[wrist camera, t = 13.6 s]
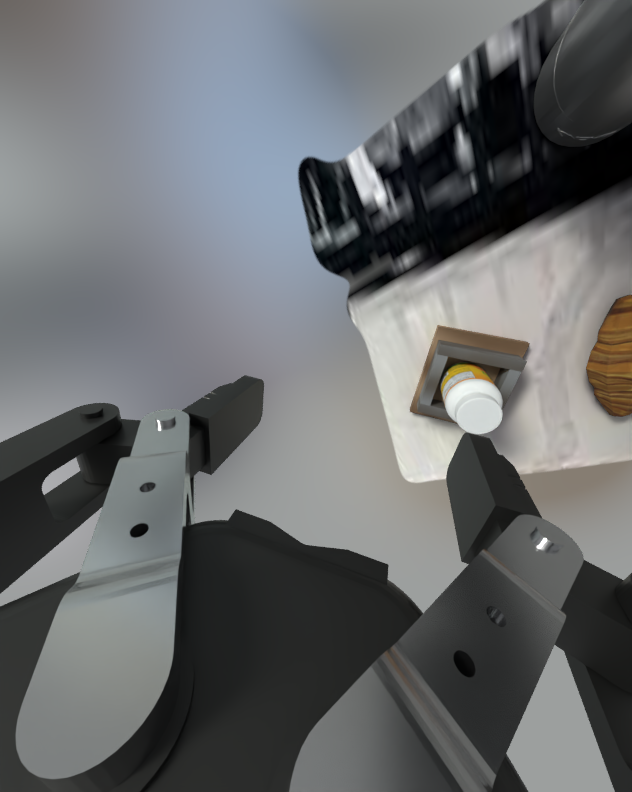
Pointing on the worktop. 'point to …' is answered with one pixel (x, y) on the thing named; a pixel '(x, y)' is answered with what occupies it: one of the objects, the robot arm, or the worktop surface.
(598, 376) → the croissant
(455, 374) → the supplement bottle
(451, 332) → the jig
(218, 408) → the robot arm
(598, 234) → the worktop surface
